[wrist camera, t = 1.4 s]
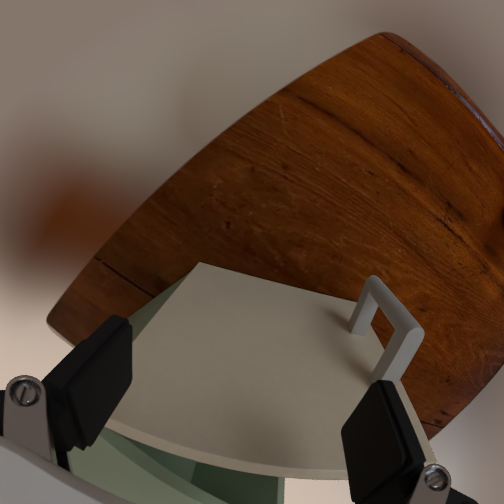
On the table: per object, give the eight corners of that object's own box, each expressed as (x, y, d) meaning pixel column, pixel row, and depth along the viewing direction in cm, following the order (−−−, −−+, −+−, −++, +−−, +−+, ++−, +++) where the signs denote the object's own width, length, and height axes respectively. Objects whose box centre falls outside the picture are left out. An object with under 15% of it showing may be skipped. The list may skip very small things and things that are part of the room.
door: (208, 215, 32) (67, 310, 9) (374, 260, 32) (496, 394, 8) (197, 270, 34) (86, 418, 11) (354, 310, 33) (426, 471, 10)
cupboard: (193, 269, 34) (77, 415, 11) (285, 378, 37) (283, 535, 14) (125, 319, 37) (23, 434, 14) (212, 409, 41) (177, 536, 17)
